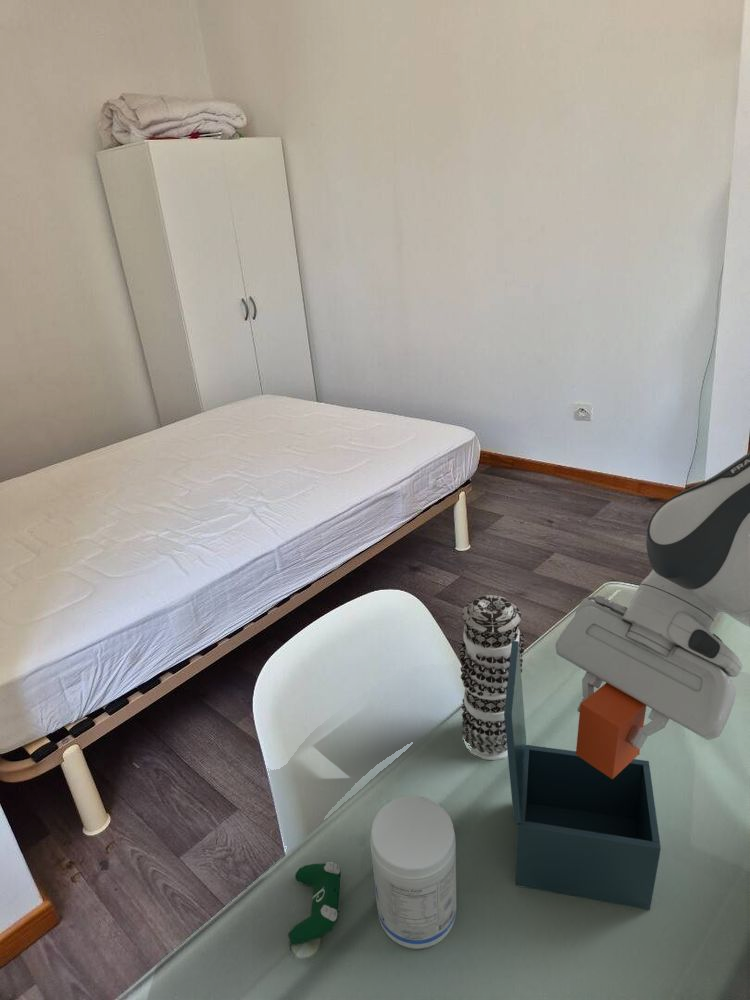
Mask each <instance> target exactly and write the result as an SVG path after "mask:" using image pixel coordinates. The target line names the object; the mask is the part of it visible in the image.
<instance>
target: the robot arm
mask: <svg viewBox="0 0 750 1000" xmlns="http://www.w3.org/2000/svg"><path fill="white" fill-rule="evenodd" d="M645 537H646V539H645V540H646V541H645V544H646V545H645V546H646V553H647V557H648V561H649V564H650V567H651V571H650V573H649V574H648V575H647V576H645V577H644V579H643V580H642V581H641V583H640V584H639V586H638V588H637V589H636V591H635V593H634V595H633V597H632V598H631V600H630V603H629V604H628V606H624V605H622V604H620V603H617V602H615V601H612V600H609V598H607V597H605V596H603V595H600V594H599V595H598V594H597V595H596V596H594V595H593V596H592V595H591V596H587V597H585V598H583V599H582V600H581V601H580V603H579V604H578V606H577V609H576V610H575V613H574V616H573V617H572V618H571V620H570V621H569V622H568V623H567V625H566V626H565V628H564V629H563V631H562V632H561V634H560V635H559V637H558V638H557V639H556V642H555V652H556V653H555V654H556V655H557V656H559V657H560V658H562V659H564V660H566V661H567V662H569V663H570V664H572V665H574V666H576V667H577V668H579V669H581V670H582V671H585V673H584V676H583V678H582V679H581V684H582V685H581V686H582V688H581V689H582V699H581V701H580V703H579V705H578V707H577V712H579V713H580V704H581V703H582V702H583V701H584V700H586V699H587V698H588V697H589V696H591V695H592V694H593V693H594V692H595V688H596V689H597V690H598V689H599V688H601V686H602V684H603V682H604V683H605V684H606V683H608V684H610V685H612V686H614V687H615V688H617V689H619V690H621V691H622V692H624V693H626V694H628V695H629V696H631V697H633V698H635V699H637V700H638V701H640V702H642V703H644V704H645V705H646V707H647V708H650V709H651V711H650V712H649V714H648V716H647V717H648V719H649V720H651V721H650V722H648V723H647V724H644V725H643V727H642V728H640V729H636V728H634V727H631V729H630V731H629V734H628V735H627V736H626V739H625V741H627V742H628V743H630V744H631V745H633V746H635V747H636V748H638V749H640V750H641V749H642V748H643V746H644V744H645V742H646V741H647V738H648V737H650V736H652V735H654V734H656V733H657V732H659V731H661V730H663V729H666V727H667V724H668V722H669V720H671V721H673V722H675V723H676V724H679V725H680V726H682V727H683V728H685V729H687V730H689V731H691V732H692V733H694V734H696V735H698V736H699V737H701V738H703V739H705V740H706V741H711V740H714V739H717V738H719V737H720V736H721V734H722V733H723V731H724V730H725V727H726V725H727V722H728V720H729V718H730V715H731V713H732V709H733V706H734V703H735V701H736V694H737V689H736V685H735V682H734V680H733V679H732V678H737V677H738V676H739V675H740V673H741V672H742V670H743V662H742V661H741V658H740V657H739V656H738V655H737V654H736V653H735V652H734V651H733V650H732V649H731V648H730V647H729V646H728V645H726V644H725V643H724V642H723V640H722V639H721V638H720V637H719V636H718V635H716V634H715V633H712V632H711V628H712V627H713V624H714V622H715V619H716V617H717V615H718V614H719V613H724V614H726V615H728V616H729V617H731V618H732V619H734V620H736V621H737V622H739V623H740V624H743V625H744V626H746V627H749V628H750V451H749V452H748V453H746V454H744V455H743V456H742V457H740V458H739V459H737V460H736V461H734V462H733V463H731V464H729V465H728V466H726V467H725V468H724V469H723V470H721V471H720V472H717V473H716V474H715V475H713V476H712V477H710V478H708V479H706V480H704V481H702V482H700V483H698V484H696V485H694V486H692V487H689V488H687V489H685V490H683V491H681V492H679V493H677V494H675V495H674V496H672V497H671V498H669V499H667V500H666V501H665V502H663V503H662V504H661V505H660V506H659V507H658V508H657V509H656V510H655V512H654V513H653V514H652V516H651V517H650V520H649V522H648V524H647V529H646V536H645ZM593 600H594V601H593Z"/></svg>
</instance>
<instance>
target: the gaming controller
mask: <svg viewBox="0 0 750 1000" xmlns="http://www.w3.org/2000/svg"><path fill="white" fill-rule="evenodd" d="M341 874H342V872H341V867H340V866H339V864H337V863H335V862H334V861H333V862H332V861H326V862H324V863H312V864H306V865H304V866H301V867H299V868H298V870H297V871H296V872H295V875H294V878H295V880H296V881H297V882H298V881H299V882H301V883H303V884H302V885H304V884H307V885H306V886H309V885H310V887H313V891H312V901H311V909H310V911H311V912H310V916H308V917H307V918H305V919H303V920H302V921H300V922H299V923H297V924H296V925H294V927H292V928H291V930H290V931H289V932H288V934H287V936H288V939H289V942H290V945H299V944H300V945H301V944H305V943H309V942H312V941H314V940H316V939H319V938H321V937H323V936H325V935H326V934H327V933H329V932H332V930H333V929H334V927H335V925H336V924H337V922H338V919H339V912H340V911H339V906H340V893H341V892H340V891H341V877H342V875H341ZM299 882H298V883H299ZM301 883H300V884H301Z"/></svg>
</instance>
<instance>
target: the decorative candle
mask: <svg viewBox="0 0 750 1000" xmlns="http://www.w3.org/2000/svg"><path fill="white" fill-rule="evenodd" d="M461 617H462V619H463V621H464V627H463V635H462V637H461V639H460V641H459V646H460V647H459V654H460V655H459V657H458V659H459V661H460V665H461V667H460V672H461V675H460V679H461V682H462V684H463V687H464V694H463V698H462V703H463V704H462V705H461V709H462V711H463V712H462V713H461V718H462V721H461V727H462V729H461V734H462V736H463V735H464V739H465V741H466V742H467V743H469V744H470V745H468V746H471V747H472V748H470V747H469V748H470V749H471V752H472V753H473V754H476V755H477V756H479V757H481V758H482V759H481V758H480V759H481V760H487V761H498V760H504V759H505V758H508V752H507V741H506V730H505V719H504V710H505V701H506V692H507V683H508V673H509V664H510V655H511V646H512V641H518V642H519V653H520V666H521V674H522V673H523V668H522V667H523V663H524V660H523V654H524V652H525V648H524V647H525V644H524V643H525V640H524V638H525V637H524V636H525V635H524V634H523V633H522V632H520V631H521V630H520V628H519V627H520V626H519V625H520V622H521V620H522V612H521V610H520V609H519V607H518V606H517V605H515V604H513V603H512V602H511V601H510V600H508V599H507V598H505V597H503V596H500V595H496V594H495V595H494V594H487V595H481V596H479V597H476V598H475V599H474V600H473V601H470V602H468V603H467V604H466V606H464V608H462V613H461ZM471 752H470V753H471ZM472 753H471V754H472ZM473 754H472V755H473ZM477 756H476V757H477ZM479 757H478V758H479Z"/></svg>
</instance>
